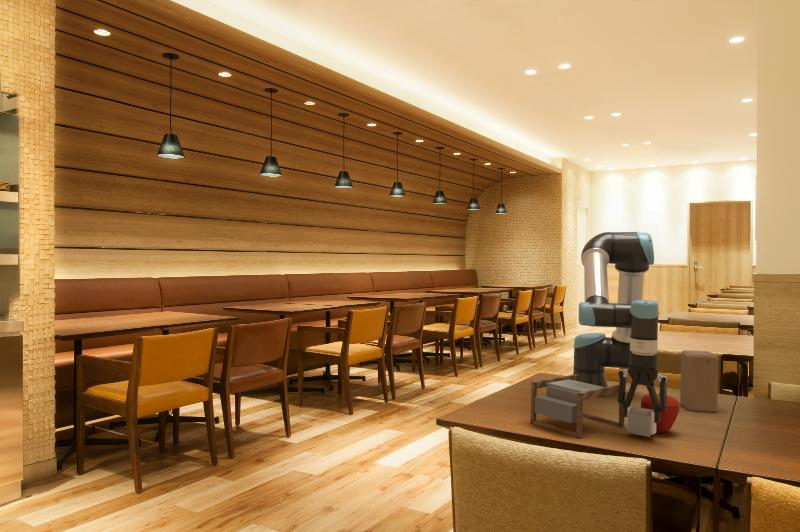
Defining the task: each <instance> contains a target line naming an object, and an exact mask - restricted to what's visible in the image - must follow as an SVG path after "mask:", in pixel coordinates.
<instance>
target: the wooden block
mask: <svg viewBox="0 0 800 532" xmlns="http://www.w3.org/2000/svg"><path fill="white" fill-rule="evenodd" d="M680 357H681V358H680V395H679V404H680V406H681V405H682V407H684V408H685V409H686V410H687V411H690V412H692V411H693V412H703V413H706V412H707V413H715V412H717V411H718V401H719V400H718V399H719V398H718V395H719V393H718V392H719V390H718V389H719V360H720V359H719V356H718V355H717V354H714V353H713V352H710V351H706V350H691V349H690V350H686V349H684V350H682V351H681V353H680Z"/></svg>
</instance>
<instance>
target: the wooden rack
mask: <svg viewBox="0 0 800 532" xmlns="http://www.w3.org/2000/svg"><path fill="white" fill-rule="evenodd" d="M568 379H569V380H574V381H578V375H576V374H575V375H573V374H571V375H563V376H558V377H557V376H556V377H551V378H550V377H549V378H545V379H539V380H533V381H531V383H530V384H531V385H530V386H531V388H530V389H531V390H530V393H531V394H530V424H532V425H536V426H539V427H542V428H545V429H547V430H548V429H549V430H552V431H556V432H559V433H562V434H565V435H568V436H571V437H575V438H577V439H583V434H584V433H583V431H584V430H583V429H584V418H588V419H591V420H593V421H597V422H602V423H605V424H609V425H613V426H616V427H619V428H624V427H625V417H624V406H623V405H622V404H619V403H618V404H619V405H618V421H616V420H613V419H609V418H605V417H603V416H602V417H601V416H597V415H593V414H590V413H586V412H584V401H586V400H587V401H588V400H590V399H592V400H593V399H597V398H602V396H603V397H607V396H611V395H616V394H618V393H619V384H616V385H609V386H608V387H604V388H599V389H593V390H588V391H583V392H578V393H577V422H576V431H572V430H569V429H566V428H563V427H560V426H557V425H555V424H554V425H553V424H551V423H547V422H544V421H540V420H537V413H535V397H536V396H538V394H537V393H538V389H543V388H546V387H545V386H544V384H545V382H547V383H550V382H556V381H562V380H568Z"/></svg>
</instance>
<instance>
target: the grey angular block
mask: <svg viewBox="0 0 800 532" xmlns="http://www.w3.org/2000/svg"><path fill="white" fill-rule="evenodd" d="M544 386H545V387H544V388H546V394H541V395H537V396H536V397H535V413H536V414H537V415H542V416H546V417H549V418H552V419H556V420H558V421H561V422H565V423H569V424H574V423H577V393H578V392H583V391H588V390H593V389H599V388H604V387H601V386H597V385H592V384H587V383H583V382H578V381H574V380H569V379H568V380H562V381H556V382H550V383H547V382H545V384H544Z"/></svg>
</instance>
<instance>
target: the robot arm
mask: <svg viewBox="0 0 800 532" xmlns="http://www.w3.org/2000/svg"><path fill="white" fill-rule="evenodd" d="M652 239H653V238H652V236H651V234H650V233H648V232H640V231H625V232H624V231H621V232H620V231H612V232H611V231H607V232H601V233H599V234H596V235H594V236H593V237H591V239H589V240H588V241H587V242H586V243H585V244H584V247H582V251H581V255H580V260H581V264H582V266H583V268H584V269H583V271H584V272H583V273H584V277H583V279H584V281H583V282H584V289H583V290H584V301H583V302H581V301H580V302H579V303H578V324H579V325H581V326H587V327H597V328H599V327H600V328H601V327H602V328H615V330H614V331H612V333H611V336H610V337H609V336H606V333H604V332H588V333H582V334H578V335H576V336H575V337H574V340H573V342H574V343H573V370H572V375H575V374H576V375H578V382H583V383H587V384H592V385H597V386H601V387H609V386H608V382H607V378H606V375H605V371H606V370H605V368H612V369H613V368H615V369H621V370H619V371H618V372H617V373H618V377H619V384H618V385H619V393H617V394H618V395H617V403H618V404H622V405H623V406H624V418H627V419H626V430H628V412H629V411H631V410H633V409H634V406H633V405H631V404H632V401H633V398H634V395H635V393H636V390H637V388H638V386H639V385H642V386H646V389H647V391H648V394H649V395H650V399H651V402H652V405H653V409H654V410H653V411H652V412H651V434H652V435H655V434H656V433H657V432H656V423H659V422H660V412H661V411H665V410H666V409H667V396H668V392H667V383H668V381H669V376H667V375H662V374H659V373H660V372H659V371H658V355H657V353H658V339H659V336H658V333H659V315H660V312H659V303H658V302H657V301H656V300H648V299H647V300H646V299H643V296H644V281H645V279H644V277H645V274H646V273H647V272H648V271H649V270H650V266H652V265H654V263H655V252H654V251H655V250H654V244H653V240H652ZM608 264H610V265H614V269H615V270H616V271H617V272H618V286H617V287H618V289H617V302H615V303H613V302H609V301H610V299H609V297H610V296H609V283H608V281H609V280H608V268H607V267H608ZM624 369H625V370H624ZM628 376H629V377H630V378H631V381H630V386H629V390H628V392H627V395H626V388H627V378H628ZM656 379H657V380H658V383H659V392H660V405H659V401H658V398H657V392H656V388H655V387H656V386H655V383H654V382H655V380H656ZM602 397H604V396H602ZM602 397H601V398H602ZM652 435H651V436H652Z"/></svg>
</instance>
